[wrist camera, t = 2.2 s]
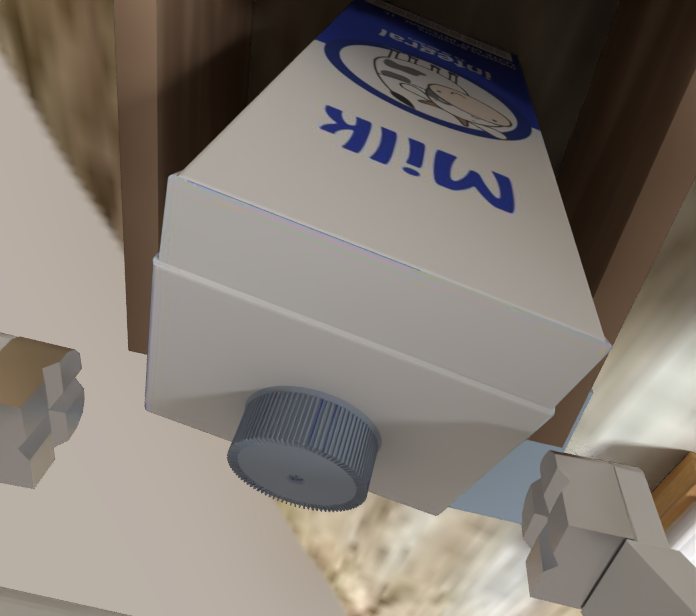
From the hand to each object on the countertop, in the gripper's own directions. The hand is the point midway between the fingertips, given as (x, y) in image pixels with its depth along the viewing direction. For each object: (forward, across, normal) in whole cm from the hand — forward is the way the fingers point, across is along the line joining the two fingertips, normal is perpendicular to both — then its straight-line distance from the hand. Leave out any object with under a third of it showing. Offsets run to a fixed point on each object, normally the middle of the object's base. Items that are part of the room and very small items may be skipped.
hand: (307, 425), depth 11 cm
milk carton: (+20, -1, 0) cm, 20 cm away
